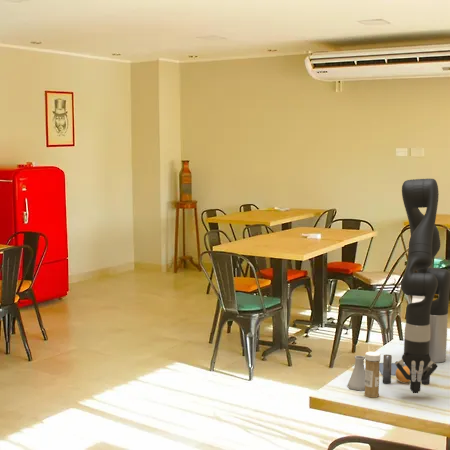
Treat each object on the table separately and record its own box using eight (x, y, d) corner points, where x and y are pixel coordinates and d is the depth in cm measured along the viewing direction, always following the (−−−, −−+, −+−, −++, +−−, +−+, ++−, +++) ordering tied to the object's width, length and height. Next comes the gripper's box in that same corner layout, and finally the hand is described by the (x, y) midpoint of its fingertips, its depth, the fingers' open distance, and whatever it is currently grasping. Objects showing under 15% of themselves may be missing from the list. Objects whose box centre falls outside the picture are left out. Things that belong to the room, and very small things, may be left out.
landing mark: (375, 363, 252) (375, 362, 252) (412, 364, 252) (412, 363, 252) (381, 375, 239) (381, 374, 239) (420, 376, 239) (420, 375, 239)
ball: (393, 375, 236) (395, 362, 234) (409, 376, 236) (411, 362, 233) (396, 385, 231) (398, 372, 229) (412, 386, 231) (415, 373, 229)
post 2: (420, 382, 233) (421, 355, 232) (428, 382, 233) (429, 355, 232) (422, 384, 230) (423, 357, 229) (430, 384, 230) (431, 357, 229)
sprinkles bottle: (381, 397, 218) (383, 354, 217) (367, 398, 217) (369, 355, 216) (375, 392, 223) (376, 350, 221) (361, 393, 222) (362, 351, 220)
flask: (370, 392, 223) (371, 361, 222) (346, 390, 225) (347, 359, 224) (370, 384, 230) (371, 354, 229) (347, 382, 232) (348, 352, 231)
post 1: (381, 381, 233) (382, 354, 232) (389, 381, 233) (390, 354, 232) (383, 383, 231) (384, 356, 230) (391, 384, 231) (392, 357, 230)
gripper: (436, 334, 220) (433, 388, 222) (392, 333, 221) (391, 387, 223) (442, 341, 213) (439, 397, 215) (397, 340, 213) (395, 396, 215)
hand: (414, 392), depth 219 cm, fingers closed
